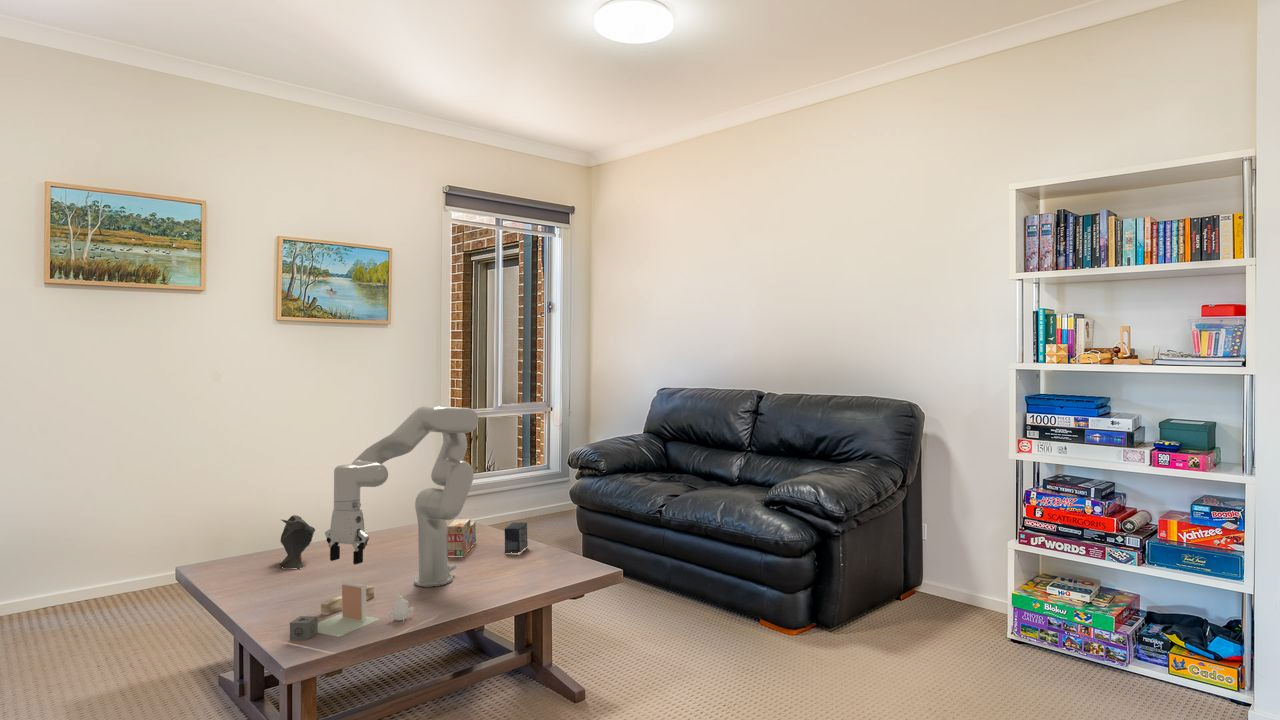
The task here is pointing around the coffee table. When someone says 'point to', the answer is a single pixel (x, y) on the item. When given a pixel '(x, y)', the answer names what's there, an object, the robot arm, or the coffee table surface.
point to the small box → (516, 537)
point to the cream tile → (354, 601)
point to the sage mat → (341, 625)
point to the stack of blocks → (460, 536)
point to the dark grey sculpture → (295, 541)
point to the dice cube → (303, 627)
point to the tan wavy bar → (336, 603)
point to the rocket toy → (400, 609)
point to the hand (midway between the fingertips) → (346, 561)
